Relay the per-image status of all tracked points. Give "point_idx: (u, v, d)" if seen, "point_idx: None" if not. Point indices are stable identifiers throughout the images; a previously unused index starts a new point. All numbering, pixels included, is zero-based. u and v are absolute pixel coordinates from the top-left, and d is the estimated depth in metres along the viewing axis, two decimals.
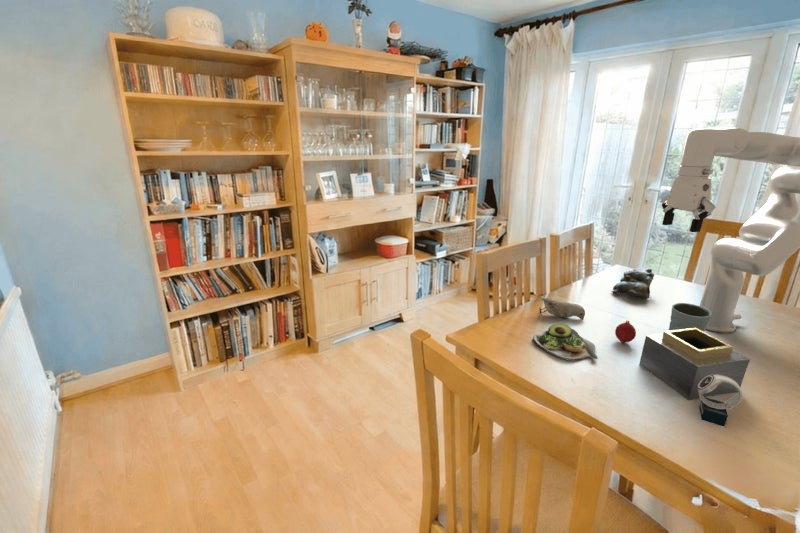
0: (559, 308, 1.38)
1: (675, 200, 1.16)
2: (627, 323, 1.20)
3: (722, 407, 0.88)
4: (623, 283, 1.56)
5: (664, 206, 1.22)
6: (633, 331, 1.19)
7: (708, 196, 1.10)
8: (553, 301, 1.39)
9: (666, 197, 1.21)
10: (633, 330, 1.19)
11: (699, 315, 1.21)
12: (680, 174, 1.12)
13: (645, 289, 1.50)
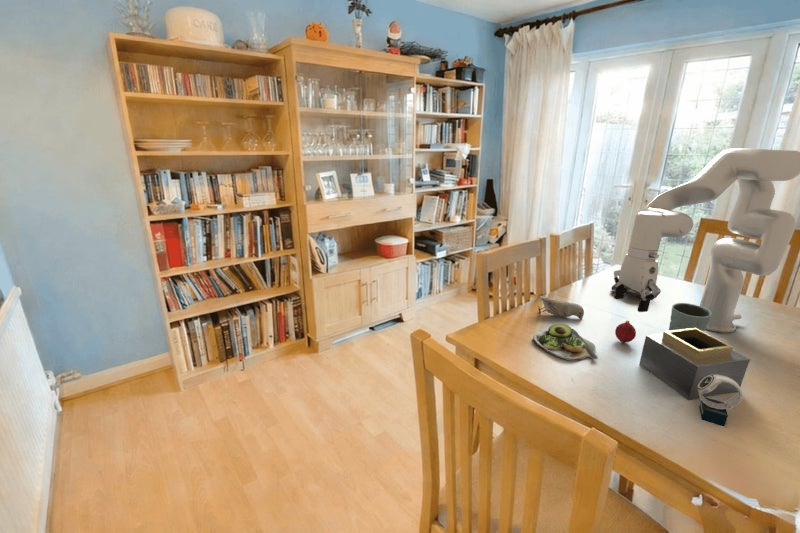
0: (558, 308, 1.38)
1: (624, 277, 1.17)
2: (627, 323, 1.20)
3: (722, 407, 0.88)
4: None
5: (616, 280, 1.22)
6: (633, 331, 1.19)
7: (655, 278, 1.11)
8: (552, 301, 1.39)
9: (618, 272, 1.22)
10: (633, 330, 1.19)
11: (699, 315, 1.21)
12: (629, 254, 1.13)
13: (644, 289, 1.51)
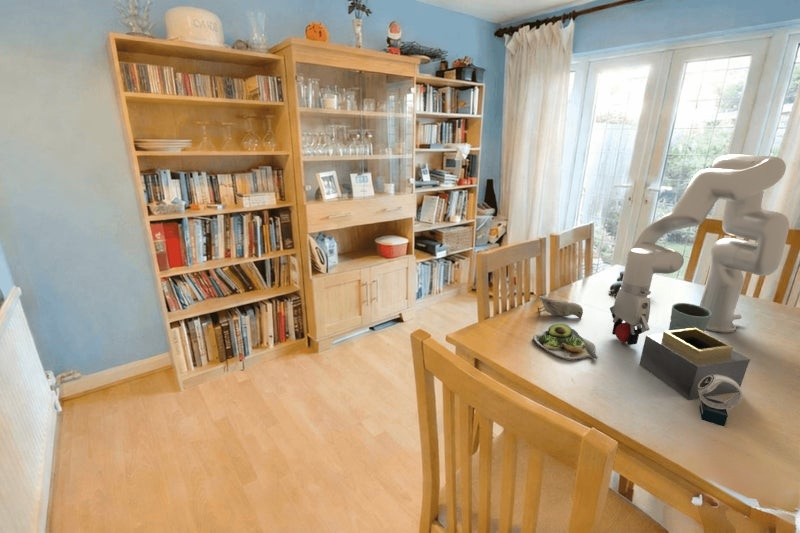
0: (557, 307, 1.38)
1: (618, 310, 1.21)
2: (627, 323, 1.20)
3: (722, 407, 0.88)
4: (620, 283, 1.56)
5: (614, 316, 1.25)
6: None
7: (648, 313, 1.14)
8: (551, 300, 1.40)
9: (613, 307, 1.25)
10: None
11: (699, 315, 1.21)
12: (622, 289, 1.17)
13: None
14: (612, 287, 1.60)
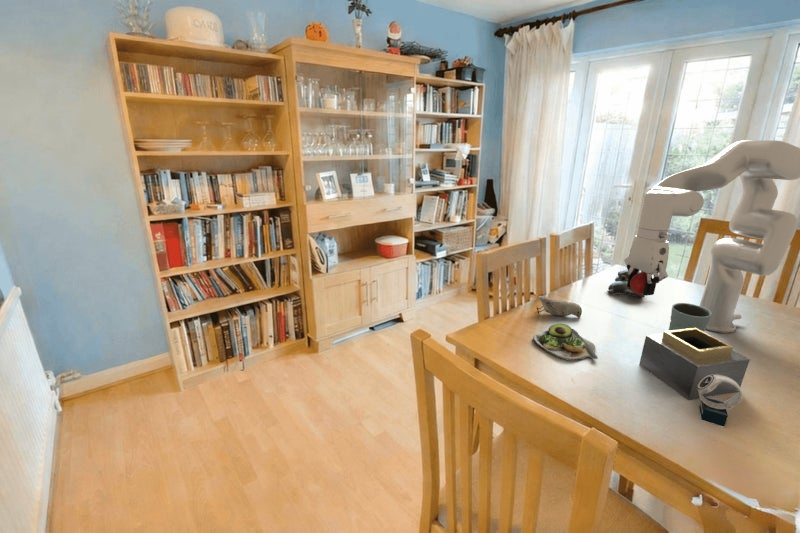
0: (557, 307, 1.38)
1: (634, 260, 1.14)
2: (643, 273, 1.13)
3: (722, 407, 0.88)
4: (619, 283, 1.56)
5: (628, 268, 1.18)
6: None
7: (666, 259, 1.07)
8: (550, 300, 1.40)
9: (628, 258, 1.18)
10: None
11: (699, 315, 1.21)
12: (638, 235, 1.10)
13: None
14: (610, 287, 1.60)
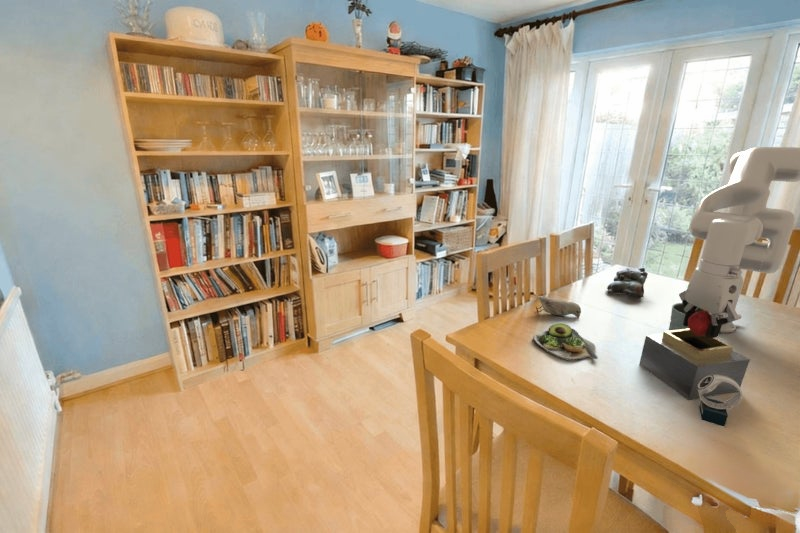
0: (556, 307, 1.39)
1: (694, 296, 0.99)
2: (705, 312, 0.98)
3: (722, 407, 0.88)
4: (618, 283, 1.56)
5: (685, 304, 1.03)
6: None
7: (736, 299, 0.92)
8: (550, 300, 1.40)
9: (685, 293, 1.03)
10: None
11: None
12: (701, 270, 0.95)
13: (640, 288, 1.51)
14: (609, 287, 1.60)
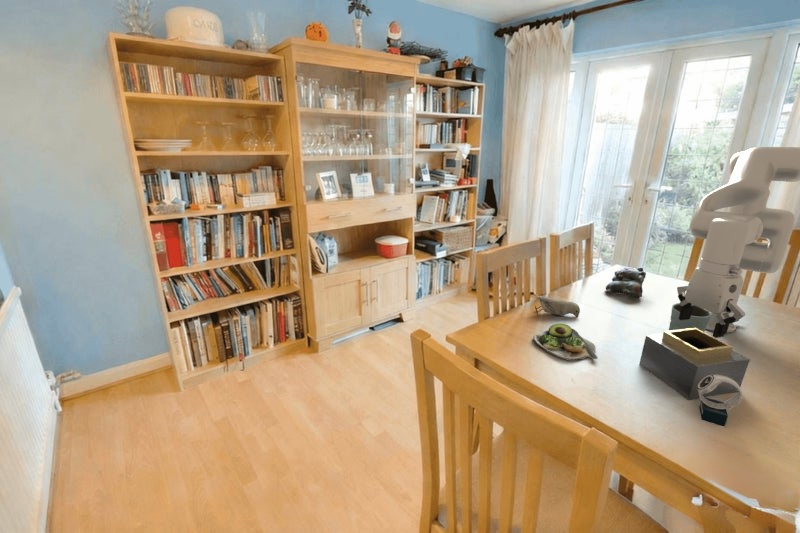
0: (555, 307, 1.39)
1: (694, 296, 0.98)
2: None
3: (722, 407, 0.88)
4: (616, 282, 1.56)
5: (681, 298, 1.04)
6: None
7: (736, 298, 0.92)
8: (549, 300, 1.40)
9: (683, 288, 1.03)
10: None
11: (699, 315, 1.21)
12: (701, 269, 0.95)
13: (638, 288, 1.51)
14: (608, 287, 1.60)
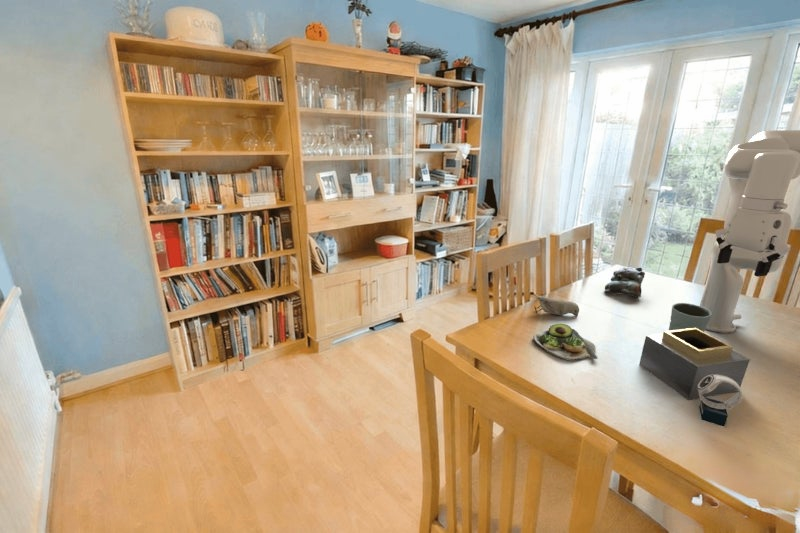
0: (555, 306, 1.39)
1: (735, 236, 0.97)
2: None
3: (722, 407, 0.88)
4: (615, 282, 1.56)
5: (719, 241, 1.02)
6: None
7: (780, 234, 0.90)
8: (548, 299, 1.40)
9: (722, 230, 1.02)
10: None
11: (699, 315, 1.21)
12: (744, 207, 0.93)
13: (637, 288, 1.52)
14: (607, 287, 1.61)
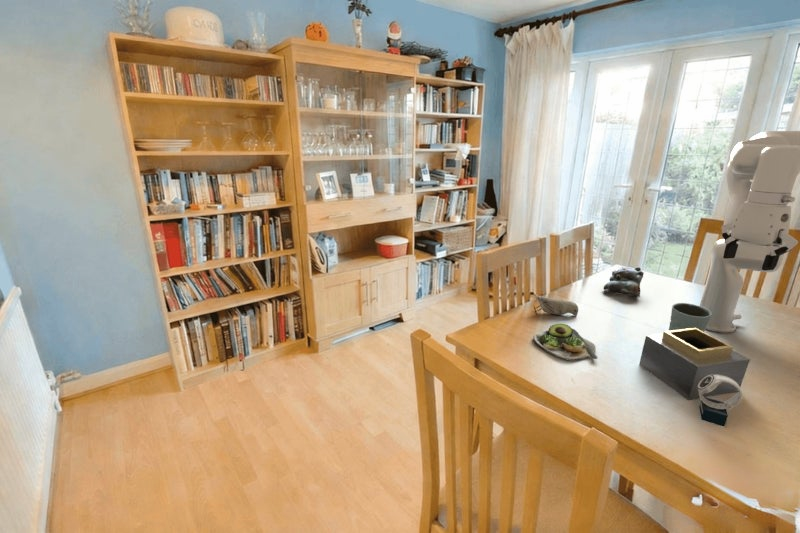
0: (554, 306, 1.39)
1: (742, 230, 0.97)
2: None
3: (722, 407, 0.88)
4: (614, 282, 1.57)
5: (725, 236, 1.02)
6: None
7: (787, 228, 0.91)
8: (548, 299, 1.41)
9: (728, 226, 1.02)
10: None
11: (699, 315, 1.21)
12: (751, 201, 0.93)
13: (636, 288, 1.52)
14: (606, 287, 1.61)
